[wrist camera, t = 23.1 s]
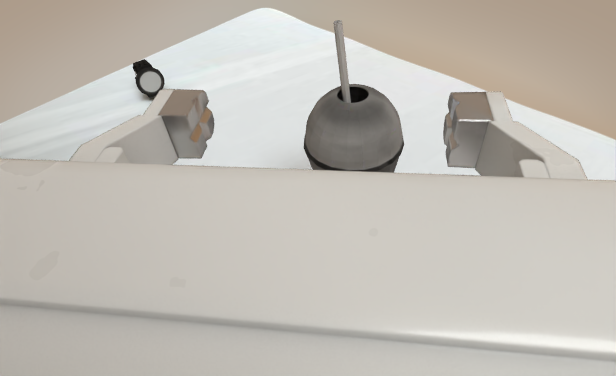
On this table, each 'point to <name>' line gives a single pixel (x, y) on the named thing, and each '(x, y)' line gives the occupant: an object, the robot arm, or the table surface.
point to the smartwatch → (148, 78)
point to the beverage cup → (353, 126)
